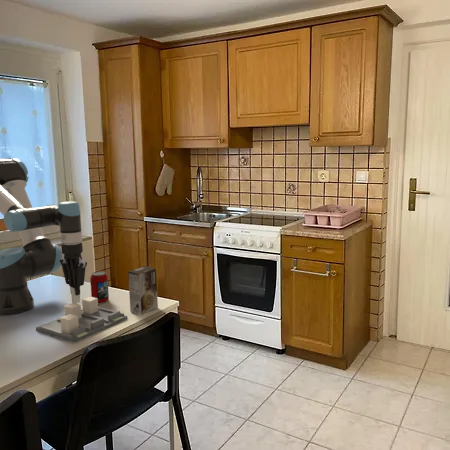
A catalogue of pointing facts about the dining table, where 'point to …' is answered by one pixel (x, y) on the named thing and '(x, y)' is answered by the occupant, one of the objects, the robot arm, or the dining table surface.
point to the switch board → (84, 324)
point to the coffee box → (143, 290)
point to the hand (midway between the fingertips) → (76, 302)
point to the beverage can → (99, 286)
